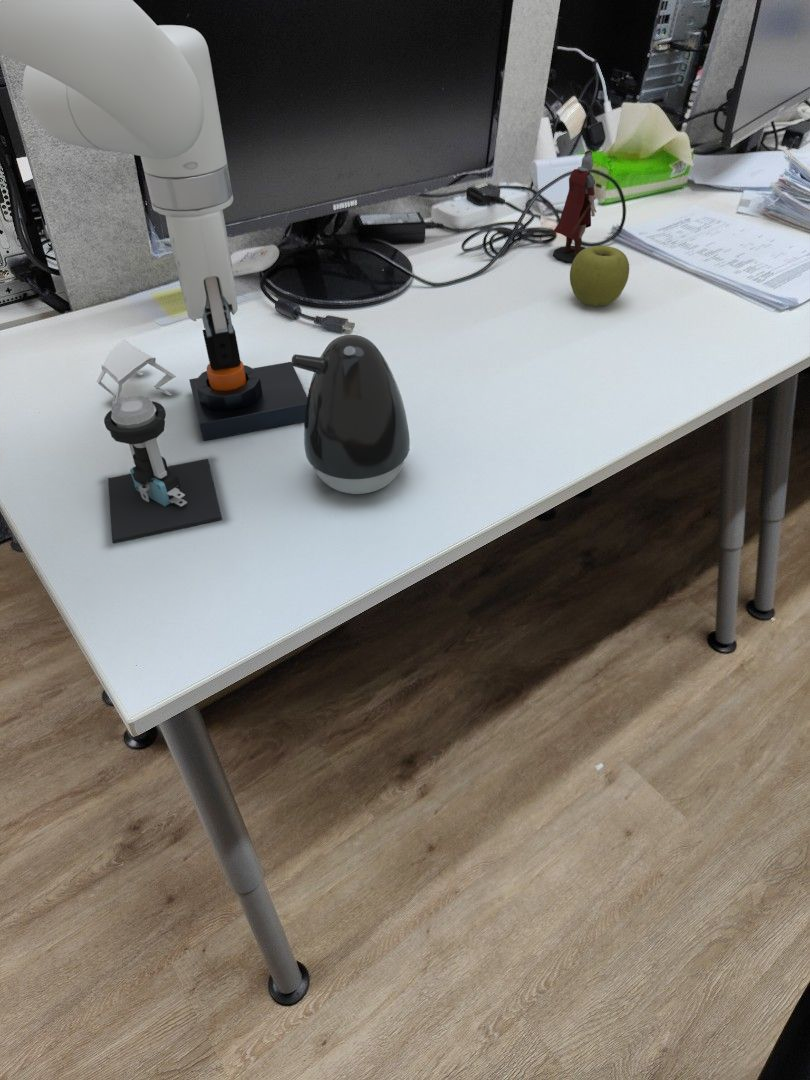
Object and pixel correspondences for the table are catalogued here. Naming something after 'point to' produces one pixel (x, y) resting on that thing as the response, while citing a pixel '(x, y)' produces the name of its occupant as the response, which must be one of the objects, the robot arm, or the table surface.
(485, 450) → the table surface
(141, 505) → the pad
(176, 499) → the push button
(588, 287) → the apple
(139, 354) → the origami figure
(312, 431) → the pump dispenser
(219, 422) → the station
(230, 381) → the orange short cylinder
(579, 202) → the figurine
